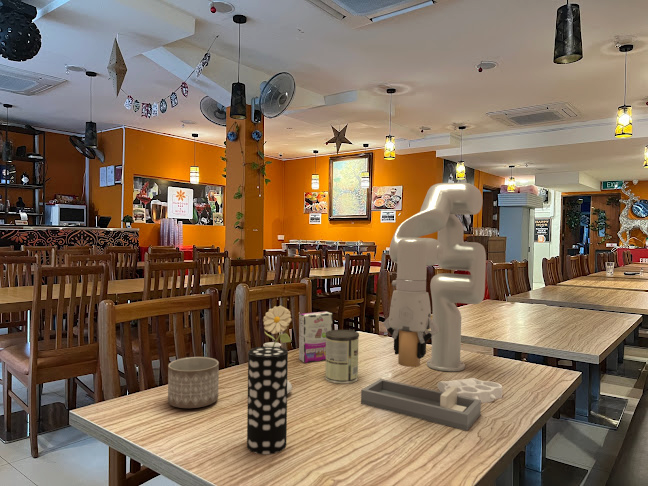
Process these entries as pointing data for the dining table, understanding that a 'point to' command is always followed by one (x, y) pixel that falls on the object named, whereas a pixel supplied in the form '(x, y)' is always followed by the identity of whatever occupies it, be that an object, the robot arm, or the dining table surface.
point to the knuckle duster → (474, 389)
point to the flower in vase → (278, 328)
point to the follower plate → (451, 400)
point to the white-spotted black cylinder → (267, 399)
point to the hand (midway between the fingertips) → (409, 354)
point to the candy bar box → (313, 335)
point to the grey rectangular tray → (420, 403)
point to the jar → (408, 348)
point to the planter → (193, 382)
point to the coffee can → (341, 356)
